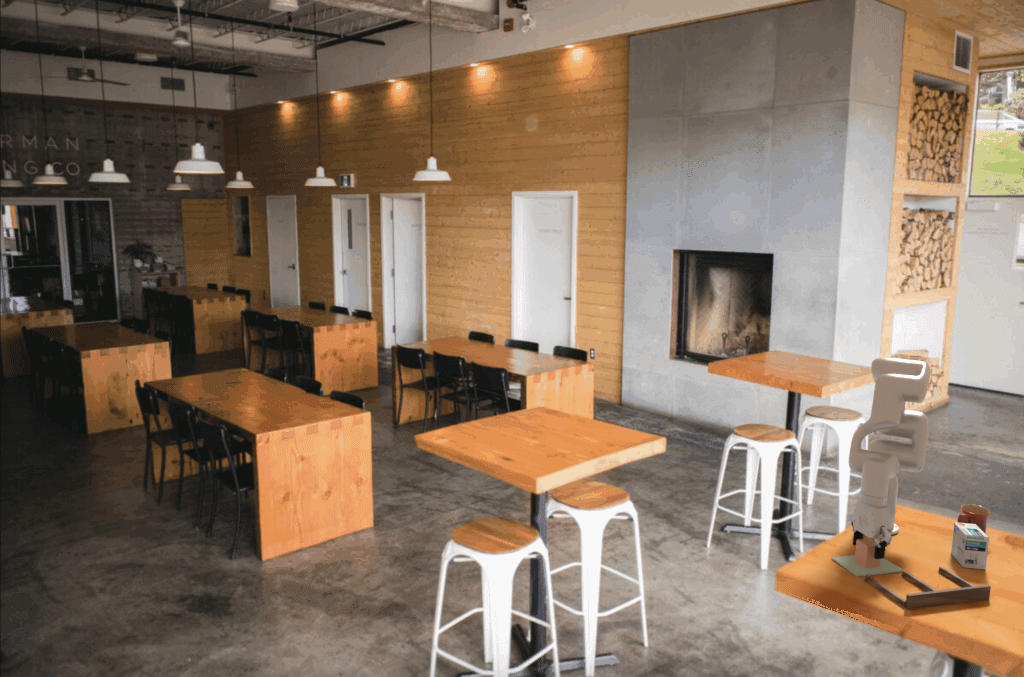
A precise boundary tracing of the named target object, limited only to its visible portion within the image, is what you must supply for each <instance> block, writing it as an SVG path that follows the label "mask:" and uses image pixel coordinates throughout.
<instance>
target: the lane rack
mask: <svg viewBox="0 0 1024 677" xmlns="http://www.w3.org/2000/svg"><path fill="white" fill-rule="evenodd" d="M938 572H939V573H940V574H942V575H944V576H946V577H947V578H949V579H951V580H953V581H954V582H955V583H958V584H959V585H961V586H963V587H958V588H957V587H956V588H950V589H949V588H948V589H940V590H937V589H936V588H934V587H933V586H931V585H929V584H928V583H926V582H924V581H923V580H922V579H920V578H918V577H917V576H915V575H914V574H912V573H910V572H908V571H907V570H903V572H901V573H902V574H901V576H902V577H903V578H905V579H907V580H909V582H911V583H913V584H914V585H916V586H917V587H919V588H921V589H922V590H924V592H922V591H921V592H914V593H906V598H903V597H902V596H900V595H899V594H897V593H896V592H894V591H893V590H891V589H890V588H888V587H887V586H885V585H884V584H883V583H882V582H880V581H878V580H877V579H875V578H874V577H873V576H872V575H870V576H869V575H865V576H864V580H865V581H866V582H867V583H869V584H870V585H872V586H873V587H874V588H876V589H878V590H879V591H881V593H883V594H885V595H886V596H887V597H889V598H890V599H892V600H893V601H894V602H895V603H897V604H899V605H900V606H902V607H904V609H906V610H907V611H908V610H909V611H910V610H914V609H915V610H917V609H923V608H924V609H925V608H931V607H932V608H933V607H939V606H947V605H949V606H950V605H955V604H965V603H971V602H972V603H973V602H981V601H987V600H988V601H989V600H990V598H991V597H990V595H991V588H992V586H991V585H990V584H983V585H975V584H973V583H971V582H969V581H967V580H965V579H964V578H962V577H961V576H959V575H957V574H956V573H954V572H953V571H951V570H948V569H947V568H945V567H944V566H939V567H938Z"/></svg>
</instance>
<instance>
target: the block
mask: <svg viewBox="0 0 1024 677" xmlns="http://www.w3.org/2000/svg"><path fill="white" fill-rule="evenodd" d="M875 546H877V544H876V542H875V539H871V538H869V537H867V538H863V539H857V541H856V545H855V550H854V551H855V553H854V555H855V561H856V562H857V563H859V564H860V565H862V566H863V567H865V568H869V567H879V566H880V559H875V558H874V553H875Z"/></svg>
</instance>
